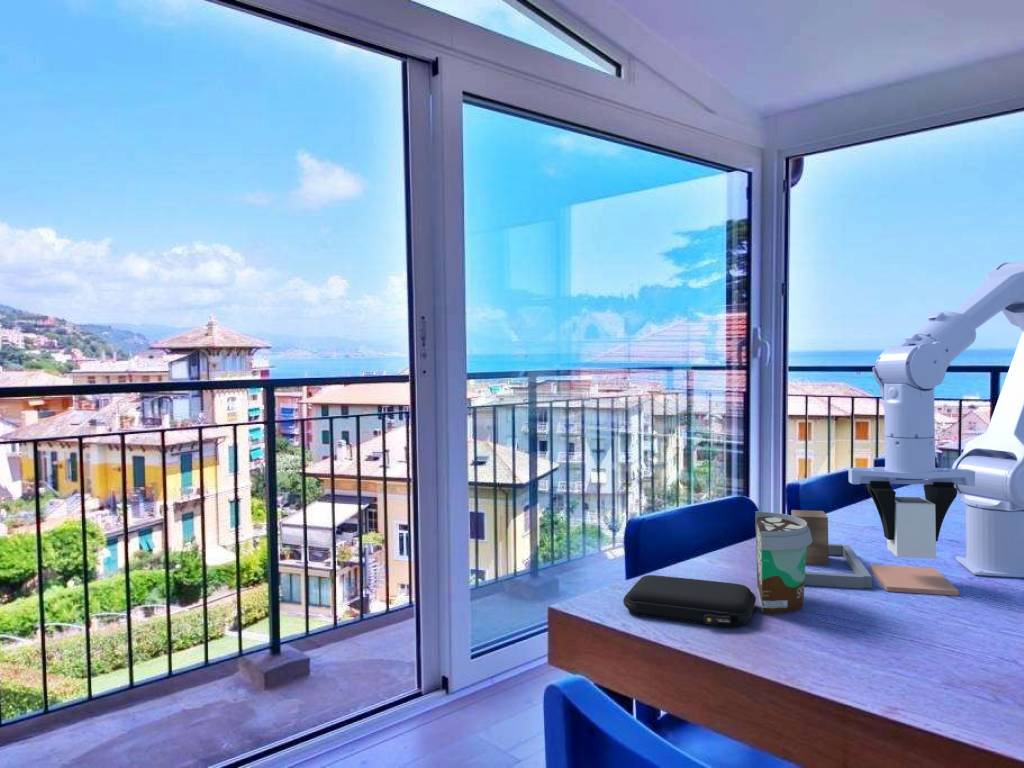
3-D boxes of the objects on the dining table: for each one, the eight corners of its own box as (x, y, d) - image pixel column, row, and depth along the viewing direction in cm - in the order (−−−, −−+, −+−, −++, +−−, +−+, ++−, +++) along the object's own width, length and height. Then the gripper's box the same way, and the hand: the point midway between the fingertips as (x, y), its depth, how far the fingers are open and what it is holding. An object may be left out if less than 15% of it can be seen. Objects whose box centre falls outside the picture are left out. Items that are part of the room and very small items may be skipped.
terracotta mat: (934, 572, 94) (934, 567, 94) (958, 595, 85) (958, 590, 85) (870, 568, 97) (870, 564, 97) (886, 591, 87) (886, 586, 87)
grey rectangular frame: (848, 554, 104) (848, 544, 104) (872, 589, 88) (872, 577, 88) (764, 550, 108) (764, 540, 108) (773, 583, 91) (773, 572, 91)
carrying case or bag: (616, 621, 80) (748, 638, 74) (616, 595, 80) (748, 610, 74) (639, 593, 90) (757, 606, 84) (638, 570, 90) (757, 582, 84)
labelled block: (924, 549, 92) (923, 496, 92) (935, 558, 88) (935, 502, 88) (887, 548, 93) (886, 495, 93) (897, 557, 89) (896, 501, 89)
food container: (821, 622, 77) (819, 534, 77) (763, 618, 79) (761, 532, 79) (806, 588, 89) (805, 512, 89) (756, 585, 91) (755, 510, 91)
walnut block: (824, 557, 103) (823, 511, 103) (828, 565, 99) (827, 517, 99) (792, 555, 104) (791, 510, 104) (795, 563, 100) (794, 516, 100)
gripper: (959, 433, 92) (960, 533, 93) (842, 433, 96) (844, 529, 96) (981, 438, 86) (982, 546, 86) (854, 438, 89) (856, 542, 89)
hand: (910, 538), depth 91 cm, fingers closed on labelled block, 4 cm apart
